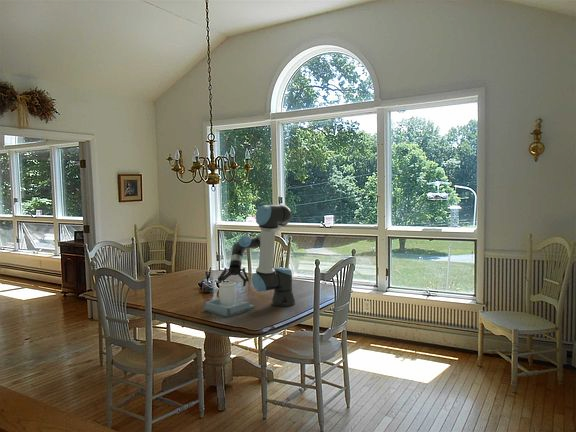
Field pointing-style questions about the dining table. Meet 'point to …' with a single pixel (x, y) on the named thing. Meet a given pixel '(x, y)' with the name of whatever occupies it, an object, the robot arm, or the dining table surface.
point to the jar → (227, 293)
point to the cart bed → (217, 307)
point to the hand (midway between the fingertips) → (231, 290)
